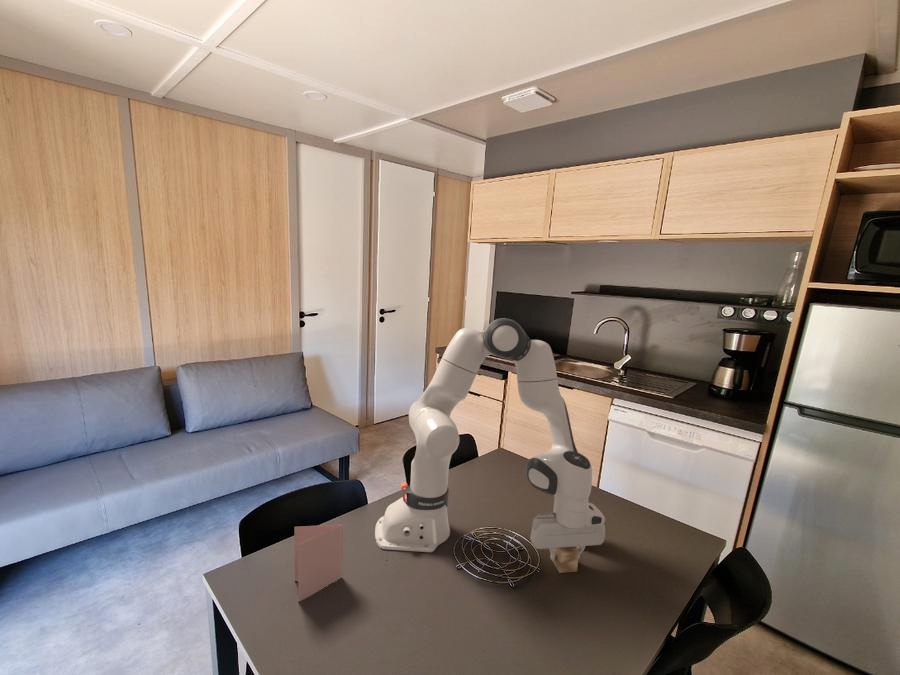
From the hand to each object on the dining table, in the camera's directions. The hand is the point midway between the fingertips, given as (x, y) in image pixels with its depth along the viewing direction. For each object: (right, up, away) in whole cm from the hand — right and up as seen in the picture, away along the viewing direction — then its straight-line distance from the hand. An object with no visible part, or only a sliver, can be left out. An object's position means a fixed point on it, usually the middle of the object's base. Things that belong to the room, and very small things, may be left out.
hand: (564, 558), depth 109 cm
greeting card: (-64, -1, -12) cm, 65 cm away
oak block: (0, -2, 0) cm, 2 cm away
